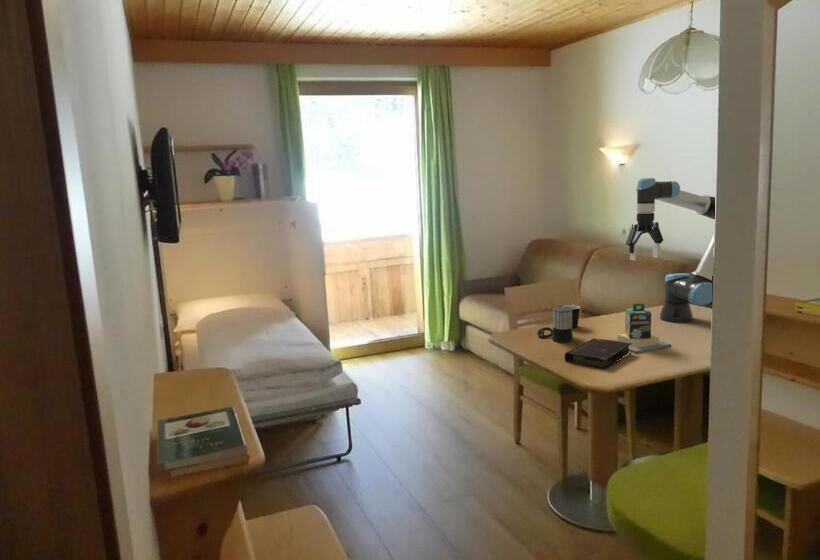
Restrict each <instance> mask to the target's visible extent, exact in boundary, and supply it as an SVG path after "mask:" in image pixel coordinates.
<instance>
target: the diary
mask: <svg viewBox="0 0 820 560" xmlns="http://www.w3.org/2000/svg"><path fill="white" fill-rule="evenodd" d="M631 344H632V343H626V342H620V341H614V340H613V339H605V338H603V339H602V338H595V337H594V338H591V339H590V340H588V341H586V342H584V343H581V344H580V345H578V346H575V347H574V348H573V349H570V350H568V351H565V353H564V362H568V361H570V363H572V362H573V363H575V364H580V365H583V366H586V367H591V368H596V369H600V370H606V369H609V368H610V366H611V367H612V366H614V365H615V364H617V363H618V362H620V361H621V360H619V359H620V358H622V357H623V356H625V355H627V354H628V353H629V354H630V355H632V354H631V353H632V352H629V345H631ZM622 359H623V358H622ZM617 360H618V361H617ZM613 364H614V365H613Z"/></svg>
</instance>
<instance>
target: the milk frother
mask: <svg viewBox="0 0 820 560" xmlns="http://www.w3.org/2000/svg"><path fill="white" fill-rule="evenodd" d="M572 310H573V309H572V308H570V307H562V306H554V307H553V308H552V328H551V327H548V326H547V327H542V328H540V329H538V330H537V333H536V334H537V336H538V337H540V338H543V339H546V338H551V337H552V341H553V342H556V343H563V344H564V343H571V342H573V341H574V338H573V337H574V336H573V329H572ZM545 331H549V332H550V333H549V334H545Z"/></svg>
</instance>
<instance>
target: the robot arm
mask: <svg viewBox="0 0 820 560" xmlns="http://www.w3.org/2000/svg"><path fill="white" fill-rule="evenodd" d="M636 193H637V194H636V197H637V198H636V212H637V213H636V221H637V223H636V224H635V223H632V224H631V229H630V232H629V234H628V236H627V239H626V241H625V245H627V246H629V254H630V255H629V260H630V261H636V260H637V259H636V258H637V246H636V244H637V242H638V241H639V239H640V238H641V236H642V235H643V234H648V235H649V236H650V238H651V239H652V241H653V243H652V258H659V251H660V245H661V244H662V242H664V238H663V235H662V232H661V229H660V227H659V222H658V221H655V213H654V212H655V209H656V208H655V207H656V206H655V204H656V201H660V202H664V203H667V204H670V205H673V206H677V207H681V208H683V209H688V210H690V211H693V212H694V211H695V212H696V214H698V215H701V216H704V217H706V218H709V219H712V220H714V219H715V197H716V196H711V195H706V194H705V195H699V194H695V193H693V192H692V193H691V192H688V191H685V190H682V189H681V186H680V184H679V182H677V181H675V180H674V181H671V180H670V181H656V179H655V178H654V177H653V178H652V177H651V178H649V177H645V178H638V180H637V186H636ZM713 248H714V233H712V236H711V238H710V240H709V242H708V244H707V246H706V248H705V250H704V252H703V255H702V257H701V258H700V260H699V263H698V265H697V267H696V269H695V270H694V271H692V272H690V273H687V272H686V273H669V274H666V275H665V278H664V299H663V300H664V301H663V305H662V308H661V311H660V313H659V319H660V320H662V321H665V322H671V323H688V322H689V323H690V322H692V321H694V320H693V319H694V315H693V313H692V308H691V305H693V306H699V307H700V306H701V307H703V306H706V305H709V304H710V303H711V302H713V300H712V276H713ZM690 304H691V305H690Z"/></svg>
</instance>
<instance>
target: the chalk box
mask: <svg viewBox="0 0 820 560" xmlns="http://www.w3.org/2000/svg"><path fill="white" fill-rule="evenodd" d="M624 313H625V317H624V318H625V320H624V321H625V322H624V323H625V324H624V325H625V328H624V330H625V332H624V333H626V334H627V336H628V337H629V338H630V339H631V338H651V335H652V312H651V311H650V310H649V309H648V308H647V307H645V303H642V302H641V303H633V305H632V308H625V312H624Z"/></svg>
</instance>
